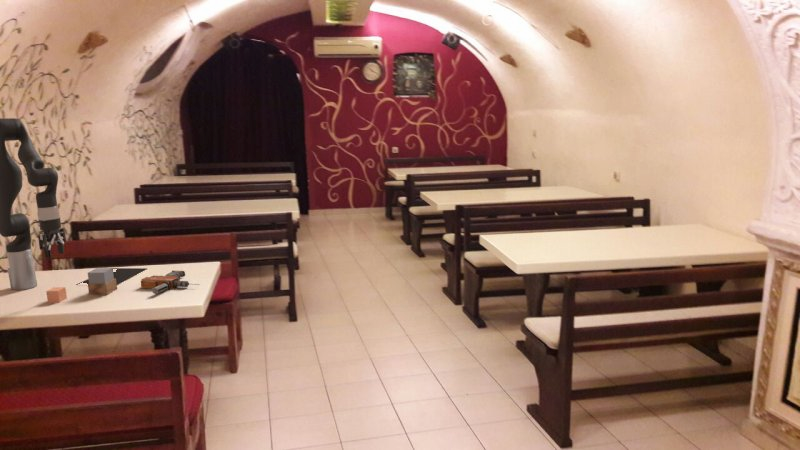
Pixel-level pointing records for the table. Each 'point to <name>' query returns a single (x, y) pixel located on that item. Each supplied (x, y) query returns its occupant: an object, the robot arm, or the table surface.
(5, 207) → the robot arm
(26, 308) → the table surface
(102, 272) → the gray middle block
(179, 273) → the tool
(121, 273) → the tablet
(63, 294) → the terracotta block
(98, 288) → the walnut base block
